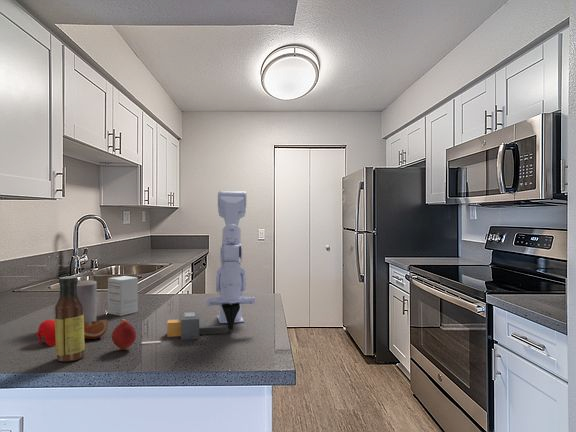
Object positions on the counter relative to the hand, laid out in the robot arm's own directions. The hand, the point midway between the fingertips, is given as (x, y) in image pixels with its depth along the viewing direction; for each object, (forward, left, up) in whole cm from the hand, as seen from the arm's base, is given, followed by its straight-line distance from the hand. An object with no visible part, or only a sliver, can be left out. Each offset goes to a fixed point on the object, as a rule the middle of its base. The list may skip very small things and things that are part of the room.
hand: (230, 328), depth 128 cm
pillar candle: (-17, -45, -1) cm, 48 cm away
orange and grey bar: (0, -10, -1) cm, 10 cm away
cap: (0, -49, -1) cm, 49 cm away
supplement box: (-33, -34, -1) cm, 47 cm away
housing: (0, -12, -1) cm, 12 cm away
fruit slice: (-2, -39, -1) cm, 39 cm away
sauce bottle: (+15, -41, -1) cm, 44 cm away
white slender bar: (+6, -23, -1) cm, 24 cm away
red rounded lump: (+11, -29, -1) cm, 31 cm away
